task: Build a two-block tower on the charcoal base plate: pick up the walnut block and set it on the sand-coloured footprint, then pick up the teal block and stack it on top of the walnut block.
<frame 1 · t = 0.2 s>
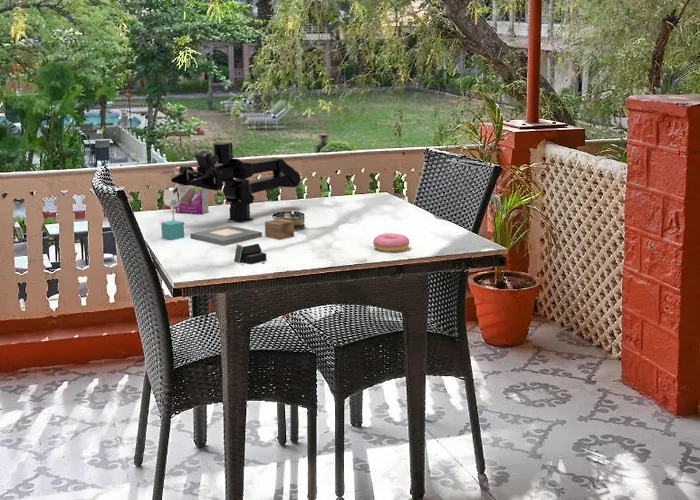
hand: (180, 181, 307), 17 cm above the table, tool horizontal, fingers open, 9 cm apart
dark stepped block: (252, 263, 274), on the table
base plate: (226, 237, 304), on the table
doughnut: (391, 249, 287), on the table
wineglass: (173, 223, 326), on the table
walnut block: (279, 236, 304), on the table
teal block: (173, 237, 304), on the table
candy bar box: (192, 213, 344), on the table
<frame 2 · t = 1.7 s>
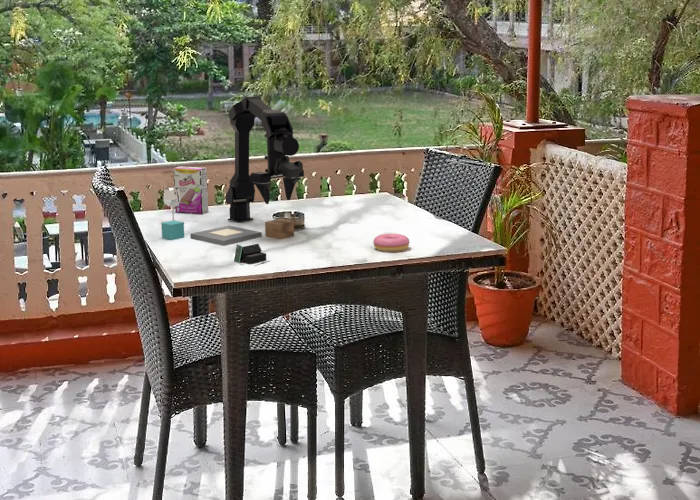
hand: (278, 201, 302), 11 cm above the table, tool pointing down, fingers open, 9 cm apart
nothing on the table moved.
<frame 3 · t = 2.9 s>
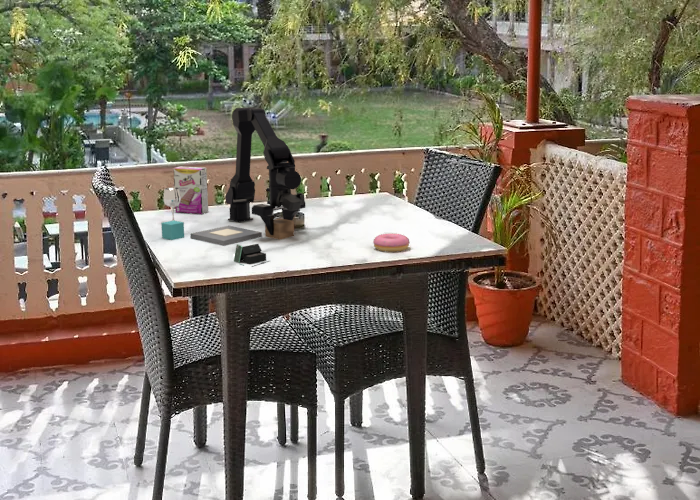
hand: (279, 233, 304), 1 cm above the table, tool pointing down, fingers closed on walnut block, 6 cm apart
walnut block: (279, 236, 304), on the table, touching gripper
everything else where it was.
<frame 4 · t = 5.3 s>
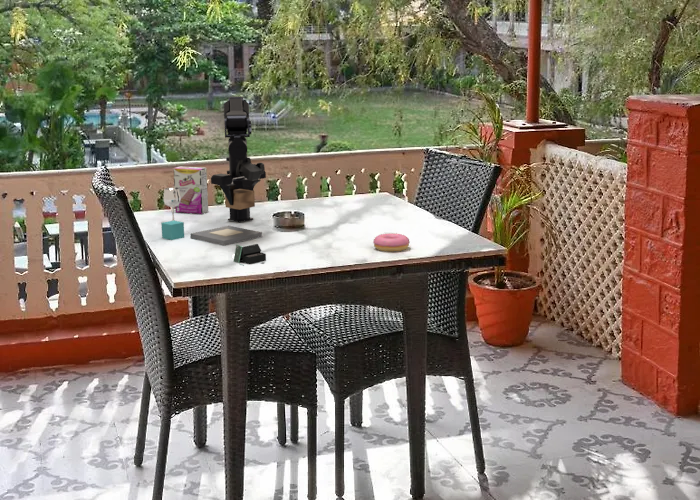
hand: (239, 203, 301), 11 cm above the table, tool pointing down, fingers closed on walnut block, 6 cm apart
walnut block: (240, 206, 302), point 10 cm above the table, touching gripper
everything else where it was.
when the fingers open (3 cm above the table, at t = 7.6 s): walnut block stays where it is, resting on base plate.
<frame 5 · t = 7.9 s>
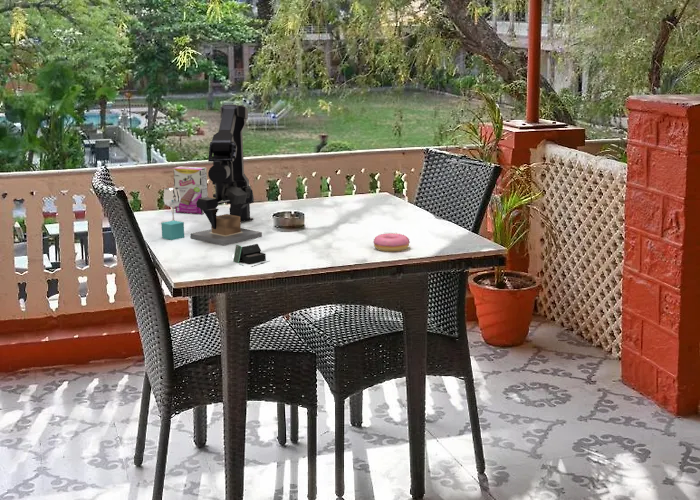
hand: (225, 226, 303), 3 cm above the table, tool pointing down, fingers open, 9 cm apart
walnut block: (226, 232, 303), point 2 cm above the table, touching base plate
everything else where it was.
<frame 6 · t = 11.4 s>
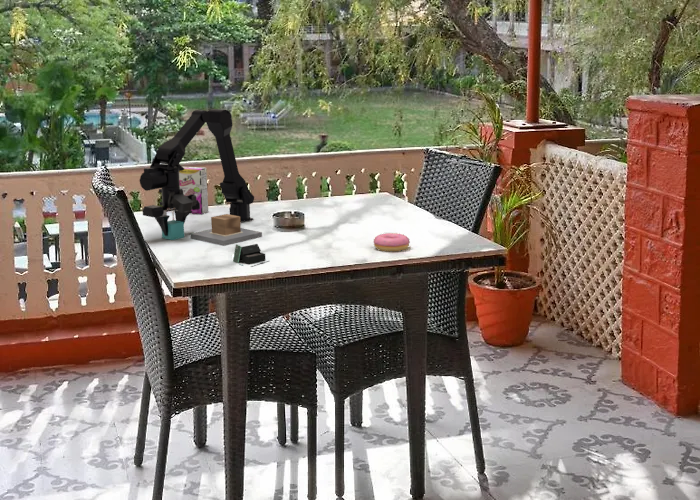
hand: (173, 234, 304), 1 cm above the table, tool pointing down, fingers closed on teal block, 5 cm apart
teal block: (173, 237, 304), on the table, touching gripper
everything else where it was.
when the fingers open (8 cm above the table, at t = 15.0 s): teal block stays where it is, resting on walnut block.
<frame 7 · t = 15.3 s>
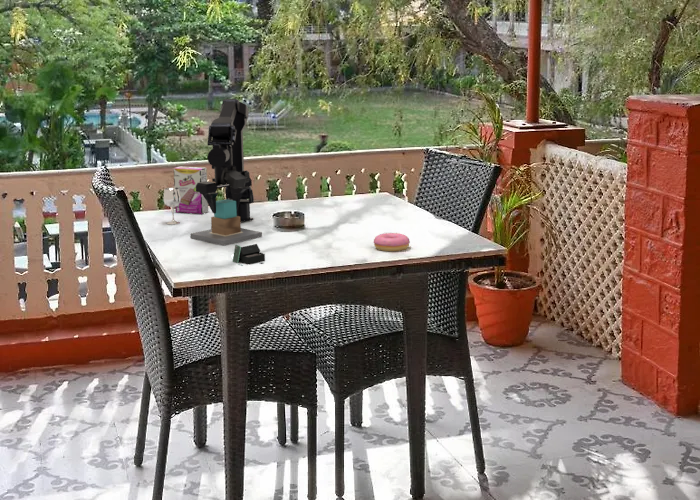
hand: (225, 211, 302), 8 cm above the table, tool pointing down, fingers open, 9 cm apart
walnut block: (226, 232, 303), point 2 cm above the table, touching base plate, teal block
teal block: (225, 216, 302), point 7 cm above the table, touching walnut block
everything else where it was.
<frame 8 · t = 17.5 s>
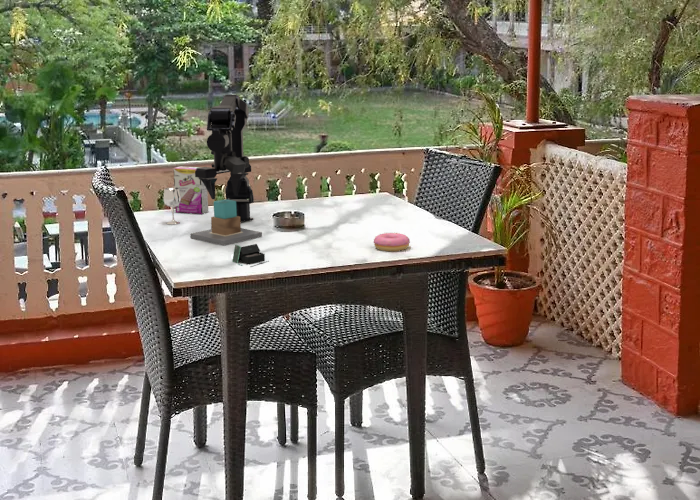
hand: (224, 197, 301), 13 cm above the table, tool pointing down, fingers open, 9 cm apart
nothing on the table moved.
at the end: walnut block 0.1 cm off-centre on the base plate, point 1.7 cm above the base plate's base; teal block 0.1 cm off-centre on the walnut block, point 5.0 cm above the walnut block's base; teal block tilted 0° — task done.
